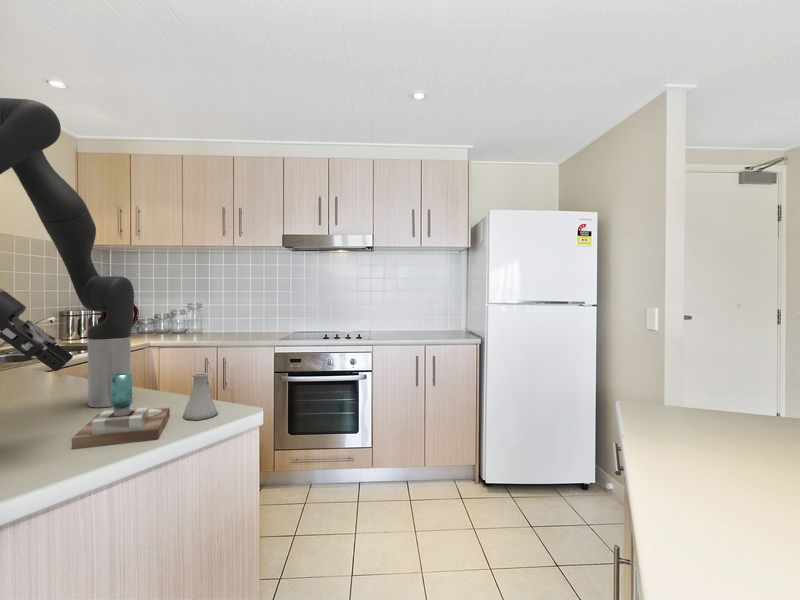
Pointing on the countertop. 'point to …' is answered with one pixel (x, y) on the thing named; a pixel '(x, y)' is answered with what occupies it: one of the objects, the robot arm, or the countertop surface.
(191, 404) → the flask
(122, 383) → the peg
